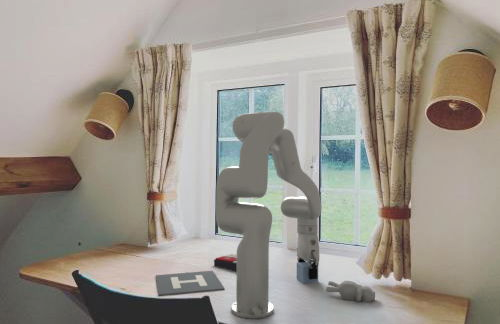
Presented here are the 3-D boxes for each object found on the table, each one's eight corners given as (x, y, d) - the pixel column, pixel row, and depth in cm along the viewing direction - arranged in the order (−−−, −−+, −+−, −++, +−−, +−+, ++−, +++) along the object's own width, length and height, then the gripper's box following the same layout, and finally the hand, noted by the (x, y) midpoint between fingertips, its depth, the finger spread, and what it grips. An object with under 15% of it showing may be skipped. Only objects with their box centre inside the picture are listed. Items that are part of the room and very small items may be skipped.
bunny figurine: (375, 293, 114) (326, 282, 119) (373, 310, 115) (324, 298, 120) (375, 284, 123) (330, 274, 128) (373, 299, 124) (328, 289, 128)
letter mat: (224, 289, 129) (224, 288, 129) (158, 296, 123) (158, 294, 123) (212, 271, 150) (212, 270, 150) (156, 276, 144) (156, 275, 144)
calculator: (231, 253, 168) (257, 257, 158) (231, 262, 168) (257, 267, 158) (213, 257, 160) (239, 262, 150) (213, 268, 160) (239, 273, 150)
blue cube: (318, 282, 138) (318, 265, 138) (303, 283, 136) (303, 266, 137) (311, 277, 144) (311, 261, 144) (296, 278, 142) (296, 262, 142)
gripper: (327, 232, 133) (327, 281, 133) (306, 225, 150) (306, 268, 150) (308, 234, 131) (308, 283, 131) (289, 225, 147) (289, 269, 147)
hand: (307, 275), depth 140 cm, fingers open, 9 cm apart
